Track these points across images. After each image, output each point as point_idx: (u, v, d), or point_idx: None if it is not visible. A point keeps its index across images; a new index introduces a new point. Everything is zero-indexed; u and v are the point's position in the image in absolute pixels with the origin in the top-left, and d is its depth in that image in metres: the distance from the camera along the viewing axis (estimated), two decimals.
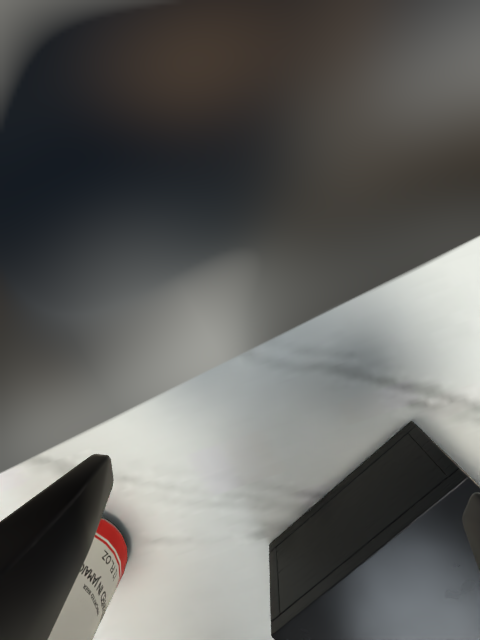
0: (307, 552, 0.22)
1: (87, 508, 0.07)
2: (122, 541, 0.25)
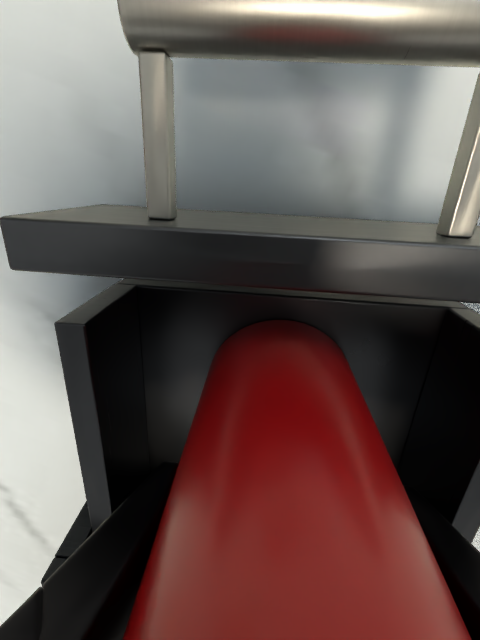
0: None
1: None
2: None
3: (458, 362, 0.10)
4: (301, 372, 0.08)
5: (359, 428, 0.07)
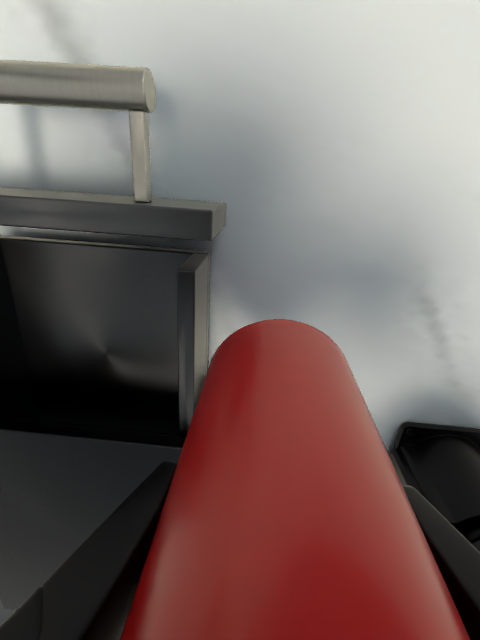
0: None
1: None
2: None
3: None
4: (300, 371, 0.08)
5: (358, 427, 0.07)
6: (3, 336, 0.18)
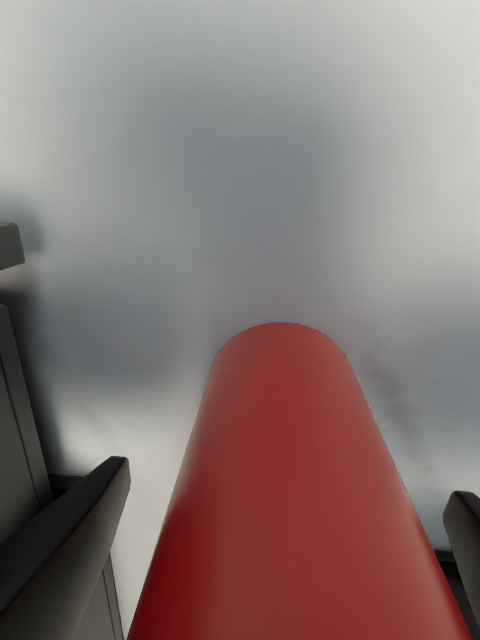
0: None
1: (107, 510, 0.07)
2: None
3: None
4: (303, 376, 0.08)
5: (363, 434, 0.07)
6: None
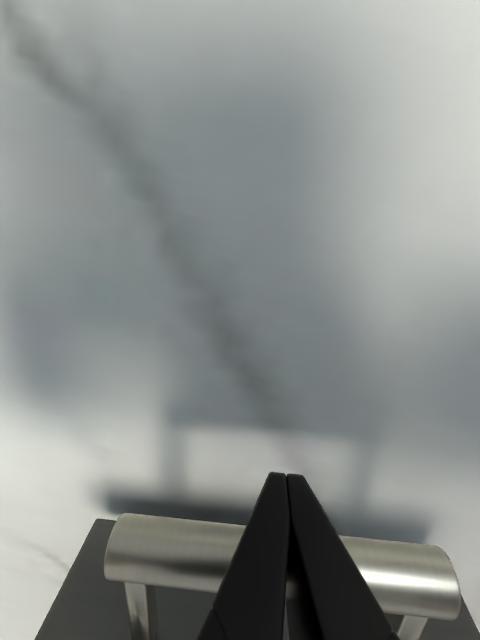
0: None
1: None
2: None
3: None
4: None
5: None
6: None
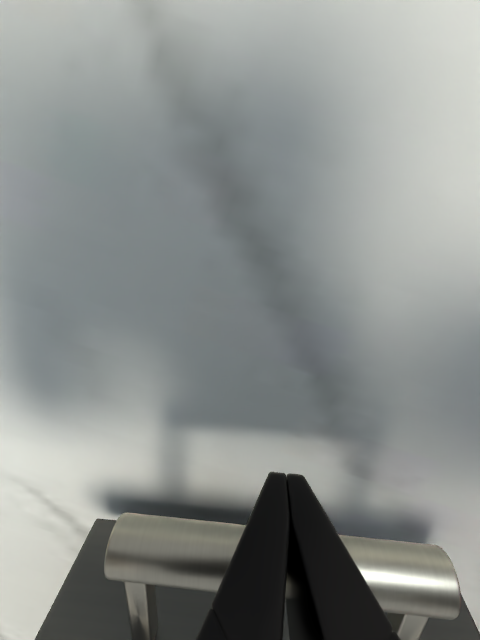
0: None
1: None
2: None
3: None
4: None
5: None
6: None
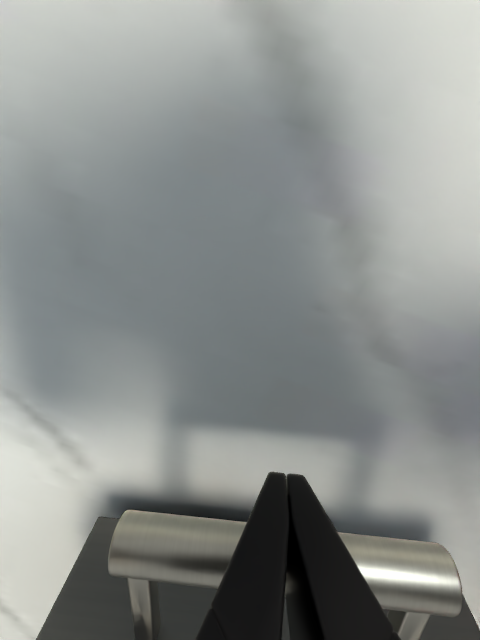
0: None
1: None
2: None
3: None
4: None
5: None
6: None
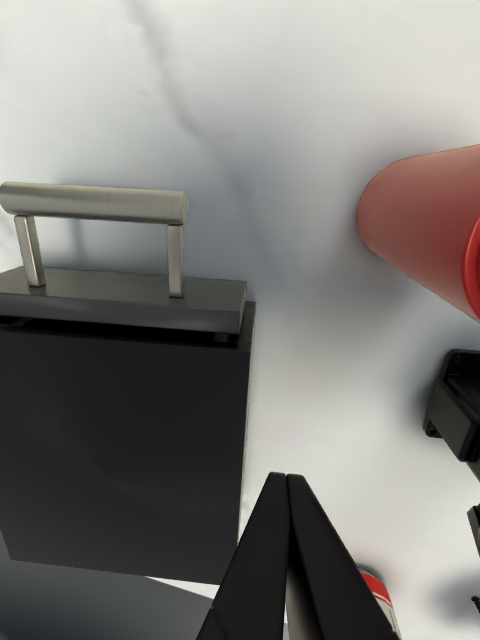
0: None
1: None
2: None
3: None
4: None
5: None
6: None
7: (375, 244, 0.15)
